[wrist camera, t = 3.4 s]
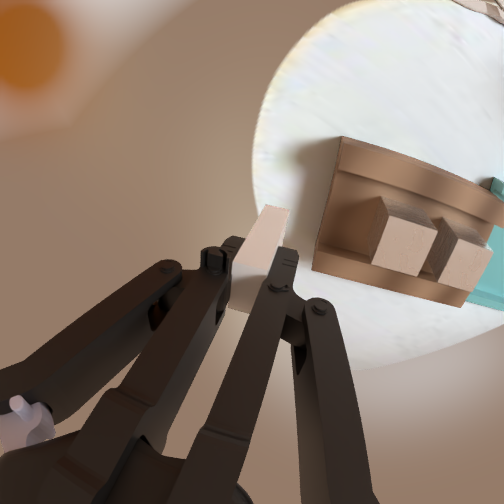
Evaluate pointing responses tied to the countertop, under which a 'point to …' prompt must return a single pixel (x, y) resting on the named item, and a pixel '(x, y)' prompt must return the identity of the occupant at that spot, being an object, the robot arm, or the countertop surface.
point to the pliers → (485, 8)
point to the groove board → (403, 190)
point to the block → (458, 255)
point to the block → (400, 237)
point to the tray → (492, 265)
